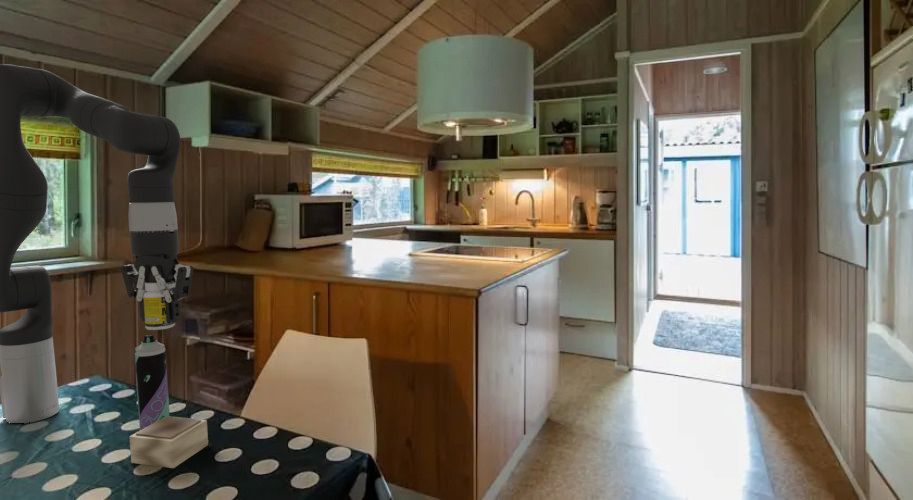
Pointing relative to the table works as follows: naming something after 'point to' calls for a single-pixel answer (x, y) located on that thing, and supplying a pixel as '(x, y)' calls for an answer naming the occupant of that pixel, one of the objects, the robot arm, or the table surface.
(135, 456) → the base block
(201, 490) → the table surface
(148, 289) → the supplement bottle
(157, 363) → the spray can
